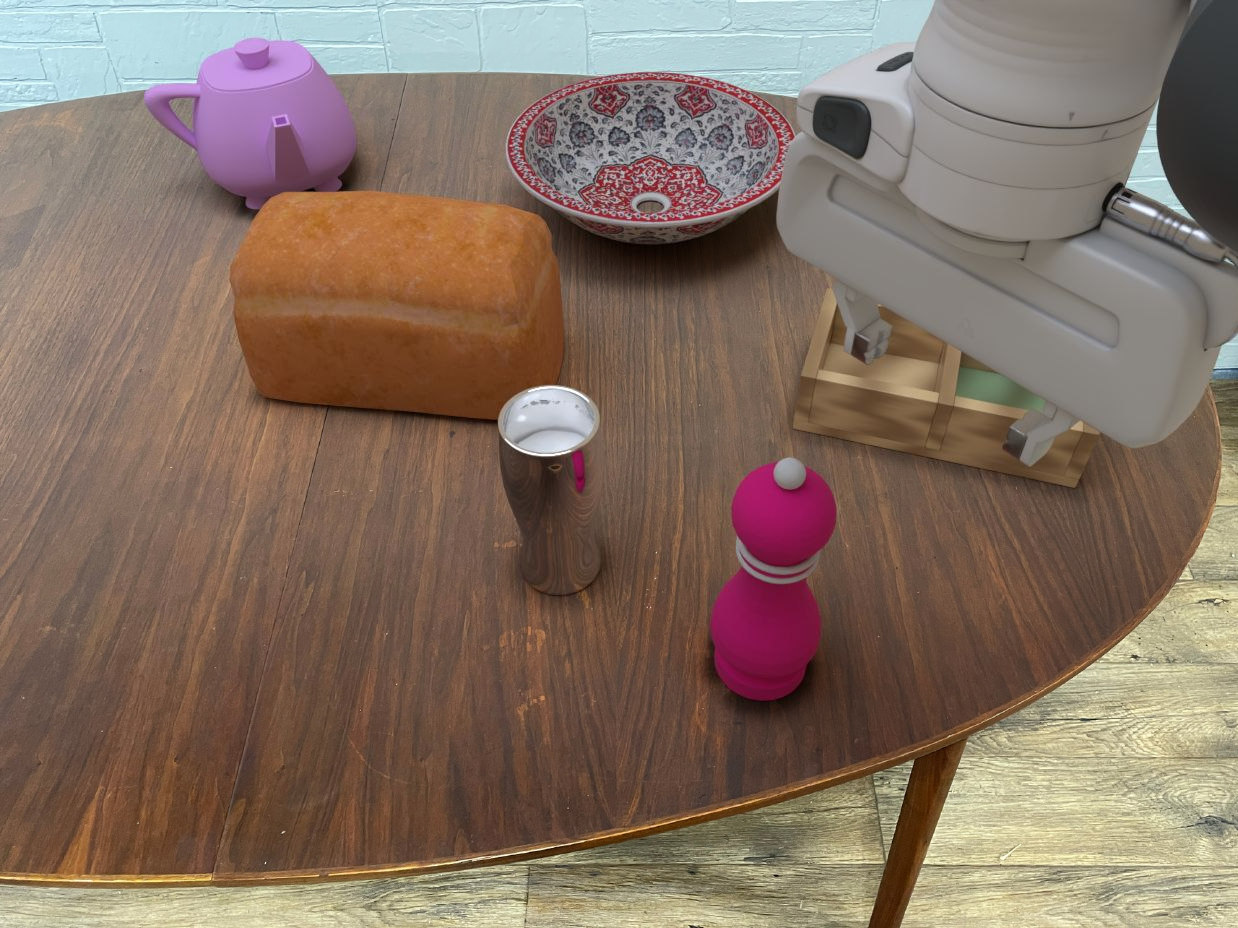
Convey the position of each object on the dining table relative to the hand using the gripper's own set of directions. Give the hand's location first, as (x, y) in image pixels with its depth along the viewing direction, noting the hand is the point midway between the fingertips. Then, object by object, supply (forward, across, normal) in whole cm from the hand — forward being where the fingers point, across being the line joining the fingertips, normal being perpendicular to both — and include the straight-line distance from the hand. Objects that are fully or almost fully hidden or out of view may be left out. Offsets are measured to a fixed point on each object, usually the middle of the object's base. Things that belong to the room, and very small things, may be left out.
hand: (940, 400), depth 51 cm
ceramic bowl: (+27, +52, -28) cm, 65 cm away
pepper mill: (+27, +6, +3) cm, 28 cm away
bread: (+26, +48, +4) cm, 55 cm away
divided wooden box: (+27, +13, -26) cm, 40 cm away
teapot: (+26, +82, -1) cm, 86 cm away
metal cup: (+27, +22, +8) cm, 35 cm away
